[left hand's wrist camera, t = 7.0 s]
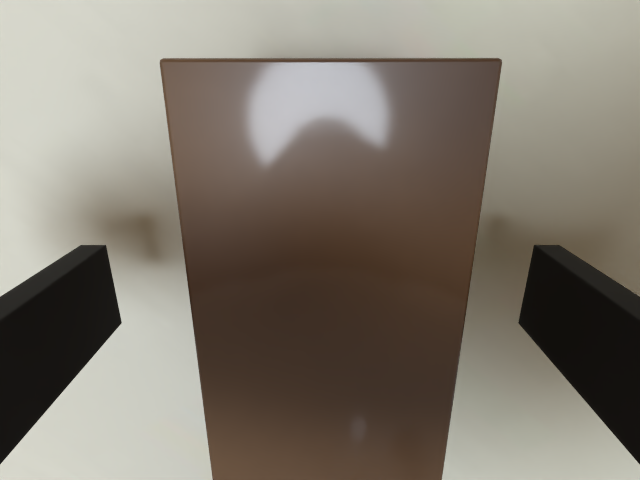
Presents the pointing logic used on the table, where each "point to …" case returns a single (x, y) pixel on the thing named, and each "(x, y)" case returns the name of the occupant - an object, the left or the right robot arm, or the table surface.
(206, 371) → the post
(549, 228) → the table surface
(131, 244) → the table surface
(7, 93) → the table surface
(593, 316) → the left robot arm
